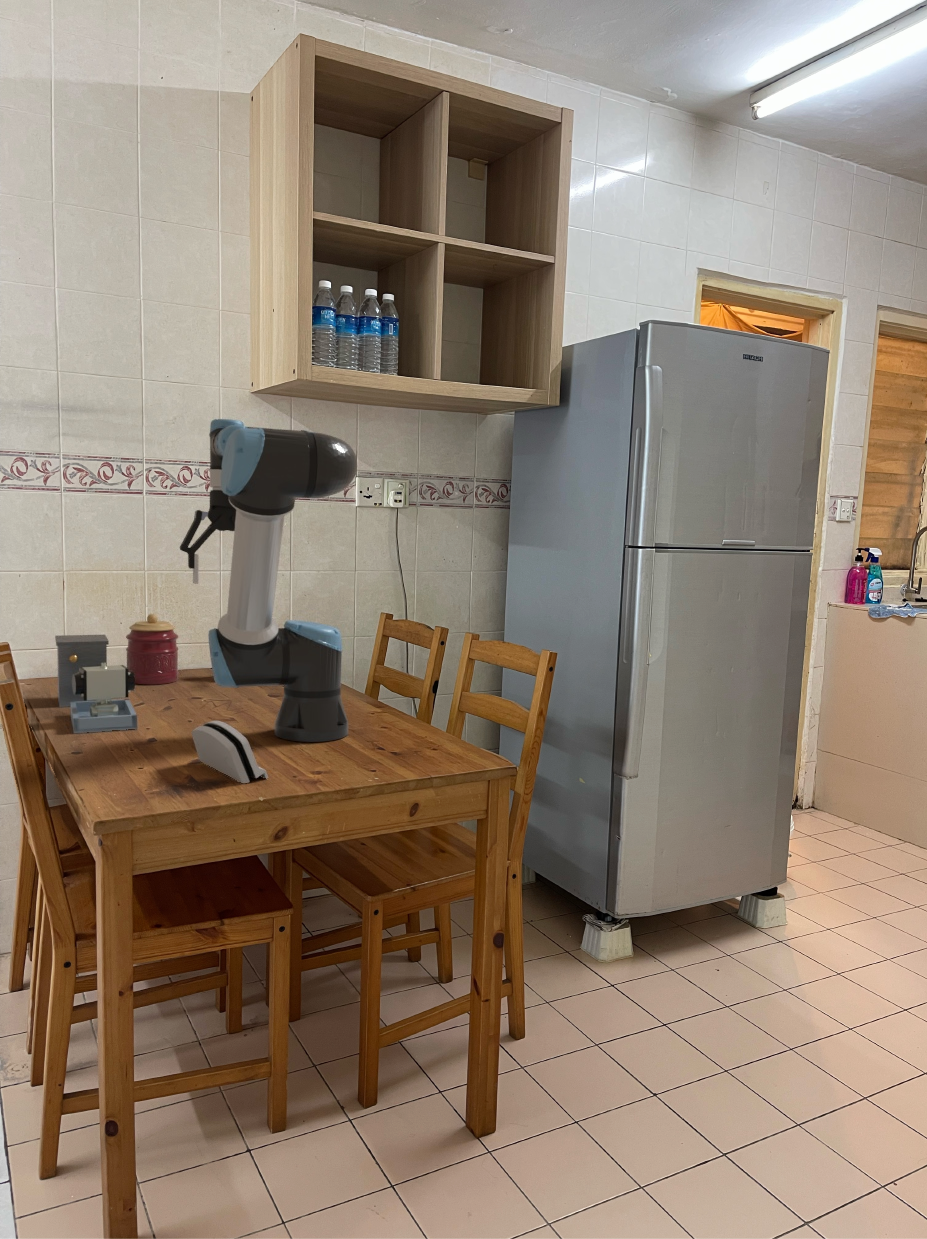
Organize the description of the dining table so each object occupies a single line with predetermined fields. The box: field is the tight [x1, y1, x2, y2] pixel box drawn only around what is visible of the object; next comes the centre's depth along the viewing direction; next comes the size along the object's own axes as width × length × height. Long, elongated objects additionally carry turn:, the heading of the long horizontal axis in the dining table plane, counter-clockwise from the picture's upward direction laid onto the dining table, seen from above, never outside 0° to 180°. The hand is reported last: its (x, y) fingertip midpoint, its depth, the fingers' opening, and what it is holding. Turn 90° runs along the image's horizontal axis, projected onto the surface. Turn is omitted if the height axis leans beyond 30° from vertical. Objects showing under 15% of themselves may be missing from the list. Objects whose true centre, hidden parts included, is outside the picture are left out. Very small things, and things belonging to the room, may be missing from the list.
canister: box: [125, 613, 179, 686], centre depth 235 cm, size 13×13×18 cm
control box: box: [54, 634, 110, 708], centre depth 208 cm, size 11×11×15 cm
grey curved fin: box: [191, 720, 269, 784], centre depth 158 cm, size 17×5×10 cm, turn 41°
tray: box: [69, 698, 138, 734], centre depth 190 cm, size 17×12×3 cm
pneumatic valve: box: [72, 663, 136, 717], centre depth 190 cm, size 6×12×12 cm, turn 123°
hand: (226, 583), depth 206 cm, fingers open, 13 cm apart
